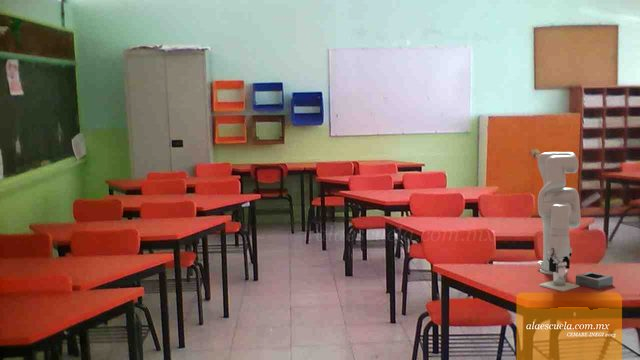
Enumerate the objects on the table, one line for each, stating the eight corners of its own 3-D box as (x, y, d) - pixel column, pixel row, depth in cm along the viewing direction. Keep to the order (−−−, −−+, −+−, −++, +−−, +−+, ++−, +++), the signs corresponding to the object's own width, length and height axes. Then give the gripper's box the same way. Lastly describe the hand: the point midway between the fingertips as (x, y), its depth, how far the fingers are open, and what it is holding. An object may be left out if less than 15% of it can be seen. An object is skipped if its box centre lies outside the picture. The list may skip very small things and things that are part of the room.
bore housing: (575, 284, 269) (575, 275, 269) (589, 280, 275) (590, 271, 275) (598, 289, 260) (598, 280, 260) (612, 285, 266) (612, 276, 266)
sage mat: (539, 285, 268) (539, 284, 268) (555, 281, 275) (555, 279, 275) (562, 291, 258) (562, 290, 258) (579, 286, 265) (579, 285, 265)
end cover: (549, 284, 267) (549, 261, 266) (557, 282, 271) (557, 259, 270) (561, 287, 262) (561, 264, 261) (569, 285, 266) (569, 262, 265)
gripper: (564, 228, 272) (563, 265, 274) (540, 233, 263) (539, 271, 264) (579, 230, 266) (578, 268, 268) (555, 235, 257) (554, 274, 258)
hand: (559, 269), depth 266 cm, fingers open, 9 cm apart
